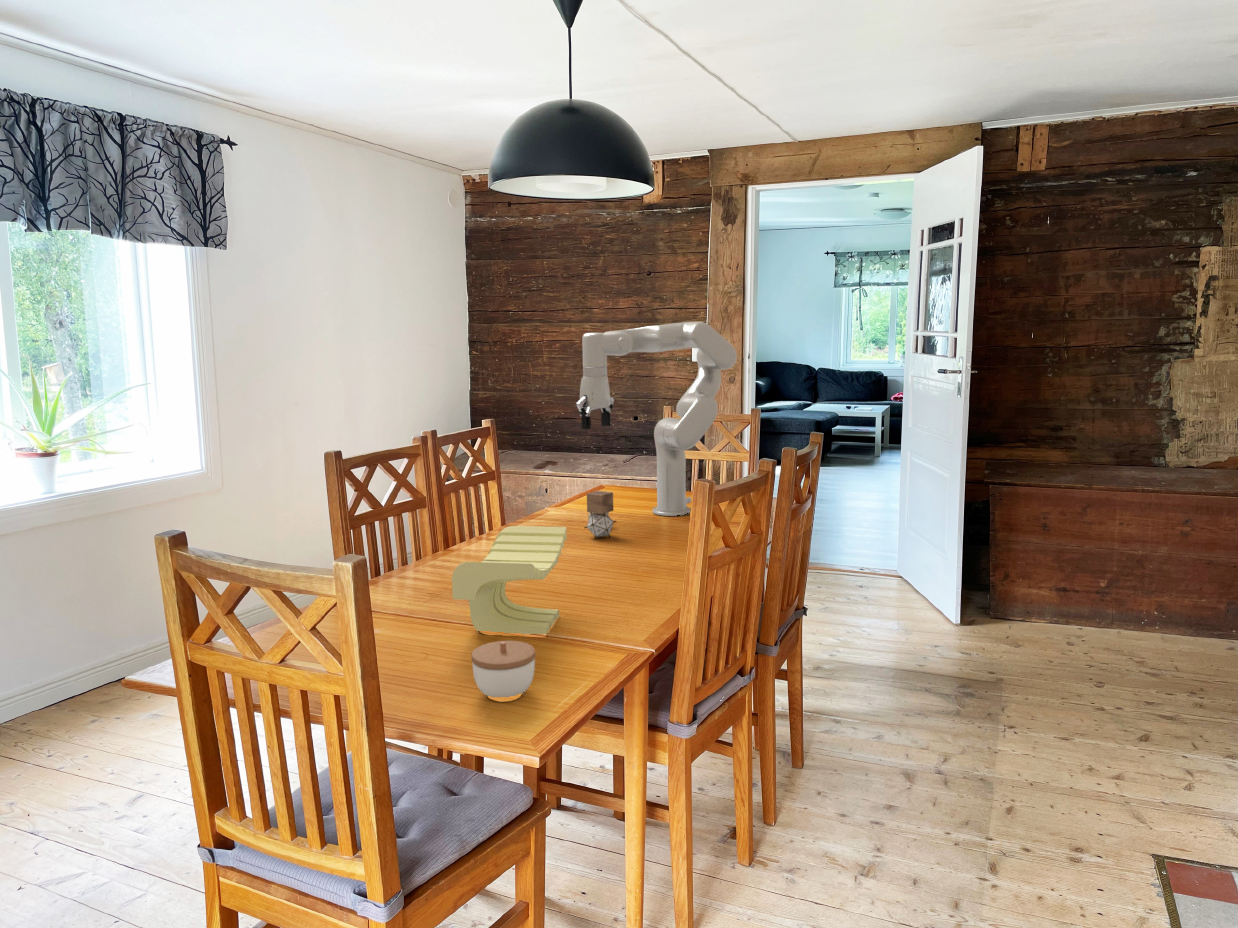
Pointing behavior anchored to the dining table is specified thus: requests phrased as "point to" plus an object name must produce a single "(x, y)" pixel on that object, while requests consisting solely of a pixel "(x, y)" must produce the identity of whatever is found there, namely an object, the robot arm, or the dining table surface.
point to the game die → (600, 524)
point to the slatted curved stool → (510, 579)
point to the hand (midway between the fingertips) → (596, 427)
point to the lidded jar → (503, 668)
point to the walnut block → (600, 502)
